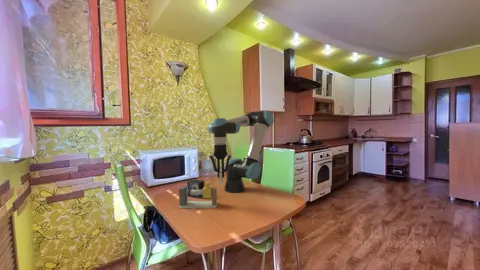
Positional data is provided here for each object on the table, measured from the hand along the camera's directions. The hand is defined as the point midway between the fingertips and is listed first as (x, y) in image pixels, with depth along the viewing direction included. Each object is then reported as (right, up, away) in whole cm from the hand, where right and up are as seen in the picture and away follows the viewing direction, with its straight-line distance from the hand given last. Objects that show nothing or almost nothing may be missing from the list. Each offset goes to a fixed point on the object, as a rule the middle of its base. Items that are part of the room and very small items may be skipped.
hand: (221, 182), depth 123 cm
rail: (-14, -14, +1) cm, 19 cm away
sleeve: (-8, -8, +1) cm, 12 cm away
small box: (-19, -14, +18) cm, 30 cm away
